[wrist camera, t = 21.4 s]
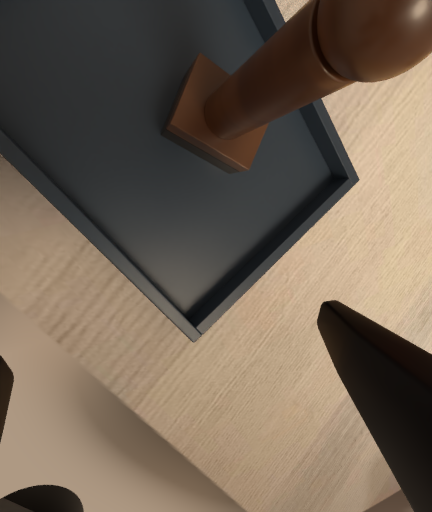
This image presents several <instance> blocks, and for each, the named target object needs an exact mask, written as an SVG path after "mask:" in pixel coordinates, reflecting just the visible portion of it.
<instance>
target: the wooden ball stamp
mask: <svg viewBox="0 0 432 512" xmlns="http://www.w3.org/2000/svg"><path fill="white" fill-rule="evenodd" d="M431 52H432V0H309V1H308V2H307V3H306V4H305V5H304V6H303V7H302V8H301V9H300V10H299V11H298V12H297V13H296V14H295V15H293V16H292V17H291V18H290V19H289V20H288V21H287V22H286V23H285V24H284V25H283V26H282V27H281V28H280V29H279V30H278V31H277V32H276V33H275V34H274V35H273V36H272V37H271V38H270V39H269V40H267V41H266V42H265V43H264V44H263V45H262V46H261V47H260V48H259V49H258V50H257V51H256V52H255V53H254V54H253V55H252V56H251V57H250V58H249V59H248V60H247V61H246V62H245V63H244V64H243V65H242V66H240V67H239V68H238V69H237V70H236V71H235V72H234V73H233V74H232V75H230V74H228V73H227V72H226V71H224V70H223V69H222V68H220V67H219V66H217V65H216V64H215V63H213V62H212V61H211V60H209V59H208V58H207V57H205V56H204V55H203V54H201V53H199V54H198V55H197V57H196V58H195V60H194V61H193V63H192V65H191V66H190V68H189V69H188V71H187V72H186V74H185V75H184V78H183V80H182V83H181V85H180V87H179V90H178V92H177V95H176V97H175V100H174V102H173V104H172V107H171V109H170V112H169V114H168V117H167V119H166V121H165V124H164V126H163V129H162V131H161V136H163V137H165V138H167V139H168V140H170V141H172V142H174V143H175V144H177V145H179V146H181V147H183V148H184V149H186V150H188V151H190V152H191V153H193V154H195V155H197V156H198V157H200V158H202V159H204V160H205V161H207V162H209V163H211V164H213V165H214V166H216V167H218V168H220V169H221V170H223V171H225V172H227V173H228V174H232V173H237V172H242V171H247V170H249V169H250V167H251V164H252V162H253V159H254V157H255V155H256V152H257V150H258V148H259V145H260V143H261V140H262V138H263V136H264V133H265V131H266V128H267V126H268V124H269V122H271V121H273V120H276V119H278V118H280V117H282V116H284V115H286V114H288V113H291V112H293V111H295V110H297V109H299V108H301V107H303V106H306V105H308V104H310V103H312V102H314V101H316V100H318V99H320V98H323V97H325V96H327V95H329V94H331V93H333V92H335V91H338V90H340V89H342V88H344V87H346V86H348V85H350V84H353V83H355V82H357V81H358V82H378V81H383V80H387V79H390V78H393V77H396V76H398V75H400V74H402V73H404V72H406V71H408V70H409V69H411V68H412V67H414V66H415V65H417V64H418V63H420V62H421V61H422V60H423V59H425V58H426V57H427V56H428V55H429V54H430V53H431Z"/></svg>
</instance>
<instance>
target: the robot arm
mask: <svg viewBox="0 0 432 512" xmlns="http://www.w3.org/2000/svg"><path fill="white" fill-rule="evenodd" d="M317 325H318V329H319V331H320V333H321V336H322V338H323V340H324V343H325V345H326V347H327V350H328V352H329V354H330V357H331V359H332V362H333V364H334V366H335V368H336V370H337V373H338V375H339V377H340V378H341V380H342V382H343V384H344V386H345V388H346V389H347V391H348V393H349V395H350V397H351V398H352V400H353V402H354V404H355V406H356V408H357V409H358V411H359V413H360V415H361V417H362V418H363V420H364V422H365V424H366V426H367V427H368V429H369V431H370V433H371V435H372V436H373V438H374V440H375V442H376V444H377V446H378V447H379V449H380V451H381V453H382V455H383V456H384V458H385V460H386V462H387V464H388V465H389V467H390V469H391V471H392V473H393V474H394V476H395V478H396V480H397V482H398V484H399V485H400V487H401V489H402V491H403V493H404V494H405V496H406V498H407V500H408V501H409V503H410V505H411V507H412V509H413V511H414V512H432V354H430V353H428V352H427V351H425V350H423V349H421V348H420V347H418V346H416V345H414V344H412V343H411V342H409V341H407V340H405V339H404V338H402V337H400V336H398V335H397V334H395V333H393V332H391V331H390V330H388V329H386V328H384V327H383V326H381V325H379V324H377V323H376V322H374V321H372V320H370V319H369V318H367V317H365V316H363V315H362V314H360V313H358V312H356V311H355V310H353V309H351V308H349V307H348V306H346V305H344V304H342V303H340V302H339V301H336V300H332V301H326V302H323V303H322V305H321V308H320V312H319V315H318V319H317ZM13 382H14V376H13V372H12V371H11V369H10V368H9V367H8V365H7V363H6V362H5V361H4V359H3V358H2V356H0V442H1V437H2V433H3V429H4V424H5V419H6V415H7V410H8V405H9V401H10V396H11V391H12V387H13Z"/></svg>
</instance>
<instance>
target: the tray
mask: <svg viewBox="0 0 432 512" xmlns="http://www.w3.org/2000/svg"><path fill="white" fill-rule="evenodd" d="M284 24H285V21H284V19H283V17H282V14H281V12H280V10H279V8H278V6H277V4H276V2H275V0H0V154H1V155H2V156H3V157H4V158H5V159H6V160H7V161H9V162H10V163H11V164H12V165H13V166H14V167H15V168H16V169H17V170H18V171H19V172H20V173H21V174H22V175H23V176H24V177H25V178H26V179H27V180H28V181H29V182H30V183H31V184H32V185H33V186H34V187H35V188H36V189H37V190H38V191H39V192H40V193H41V194H42V195H43V196H44V197H45V198H46V199H47V200H48V201H49V202H50V203H51V204H52V205H53V206H54V207H55V208H56V209H57V210H58V211H59V212H61V213H62V214H63V215H64V216H65V217H66V218H67V219H68V220H69V221H70V222H71V223H72V224H73V225H74V226H75V227H76V228H77V229H78V230H79V231H80V232H81V233H82V234H83V235H84V236H85V237H86V238H87V239H88V240H89V241H90V242H91V243H92V244H93V245H94V246H95V247H96V248H97V249H98V250H99V251H100V252H101V253H102V254H103V255H104V256H105V257H106V258H107V259H108V260H109V261H110V262H111V263H112V264H114V265H115V266H116V267H117V268H118V269H119V270H120V271H121V272H122V273H123V274H124V275H125V276H126V277H127V278H128V279H129V280H130V281H131V282H132V283H133V284H134V285H135V286H136V287H137V288H138V289H139V290H140V291H141V292H142V293H143V294H144V295H145V296H146V297H147V298H148V299H149V300H150V301H151V302H152V303H153V304H154V305H155V306H156V307H157V308H158V309H159V310H160V311H161V312H162V313H163V314H164V315H166V316H167V317H168V318H169V319H170V320H171V321H172V322H173V323H174V324H175V325H176V326H177V327H178V328H179V329H180V330H181V331H182V332H183V333H184V334H185V335H186V336H187V337H188V338H189V339H190V340H191V341H192V342H195V341H196V340H197V339H198V338H200V337H201V335H203V334H204V333H205V332H206V331H207V330H208V329H209V328H210V327H211V326H212V325H213V324H214V323H215V322H216V321H217V320H218V319H219V318H220V317H221V316H222V315H223V314H224V313H225V312H226V311H227V310H228V309H229V308H230V307H231V306H232V305H233V304H234V303H235V302H236V301H237V300H238V299H239V298H240V297H241V296H242V295H243V294H244V293H245V292H247V291H248V290H249V289H250V288H251V287H252V286H253V285H254V284H255V283H256V282H257V281H258V280H259V279H260V278H261V277H262V276H263V275H264V274H265V273H266V272H267V271H268V270H269V269H270V268H271V267H272V266H273V265H274V264H275V263H276V262H277V261H278V260H279V259H280V258H281V257H282V256H283V255H284V254H285V253H286V252H287V251H288V250H289V249H290V248H291V247H292V246H293V245H294V244H295V243H296V242H297V241H298V240H299V239H300V238H301V237H302V236H303V235H304V234H305V233H306V232H307V231H308V230H309V229H310V228H311V227H312V226H313V225H314V224H315V223H316V222H317V221H318V220H319V219H320V218H322V217H323V216H324V215H325V214H326V213H327V212H328V211H329V210H330V209H331V208H332V207H333V206H334V205H335V204H336V203H337V202H338V201H339V200H340V199H341V198H342V197H343V196H344V195H345V194H346V193H347V192H348V191H349V190H350V189H351V188H352V187H353V186H354V185H355V184H356V183H357V182H358V181H359V178H358V176H357V174H356V172H355V169H354V167H353V165H352V163H351V161H350V159H349V157H348V155H347V152H346V150H345V148H344V146H343V144H342V142H341V140H340V138H339V135H338V133H337V131H336V129H335V127H334V125H333V123H332V121H331V118H330V116H329V114H328V112H327V110H326V108H325V106H324V104H323V101H322V99H321V98H320V99H318V100H316V101H314V102H312V103H310V104H308V105H306V106H303V107H301V108H299V109H297V110H295V111H293V112H291V113H288V114H286V115H284V116H282V117H280V118H278V119H276V120H273V121H271V122H269V124H268V126H267V128H266V131H265V133H264V136H263V138H262V140H261V143H260V145H259V148H258V150H257V152H256V155H255V157H254V159H253V162H252V164H251V167H250V169H249V170H247V171H242V172H237V173H232V174H228V173H227V172H225V171H223V170H221V169H220V168H218V167H216V166H214V165H213V164H211V163H209V162H207V161H205V160H204V159H202V158H200V157H198V156H197V155H195V154H193V153H191V152H190V151H188V150H186V149H184V148H183V147H181V146H179V145H177V144H175V143H174V142H172V141H170V140H168V139H167V138H165V137H163V136H161V131H162V129H163V126H164V124H165V121H166V119H167V117H168V114H169V112H170V109H171V107H172V104H173V102H174V100H175V97H176V95H177V92H178V90H179V87H180V85H181V83H182V80H183V78H184V75H185V74H186V72H187V71H188V69H189V68H190V66H191V65H192V63H193V61H194V60H195V58H196V57H197V55H198V54H199V53H201V54H203V55H204V56H205V57H207V58H208V59H209V60H211V61H212V62H213V63H215V64H216V65H217V66H219V67H220V68H222V69H223V70H224V71H226V72H227V73H228V74H230V75H232V74H233V73H234V72H235V71H236V70H237V69H238V68H239V67H240V66H242V65H243V64H244V63H245V62H246V61H247V60H248V59H249V58H250V57H251V56H252V55H253V54H254V53H255V52H256V51H257V50H258V49H259V48H260V47H261V46H262V45H263V44H264V43H265V42H266V41H267V40H269V39H270V38H271V37H272V36H273V35H274V34H275V33H276V32H277V31H278V30H279V29H280V28H281V27H282V26H283V25H284Z"/></svg>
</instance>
